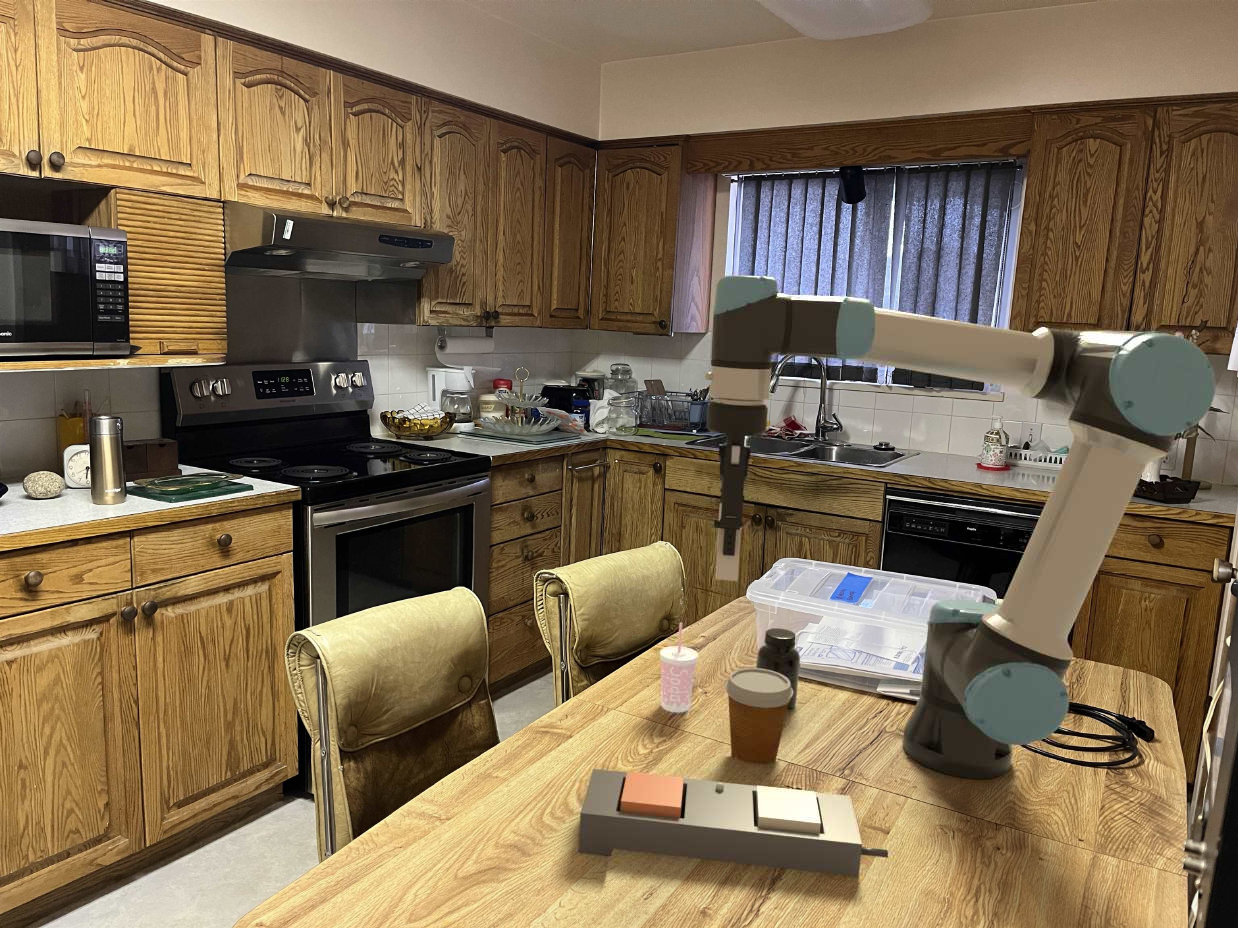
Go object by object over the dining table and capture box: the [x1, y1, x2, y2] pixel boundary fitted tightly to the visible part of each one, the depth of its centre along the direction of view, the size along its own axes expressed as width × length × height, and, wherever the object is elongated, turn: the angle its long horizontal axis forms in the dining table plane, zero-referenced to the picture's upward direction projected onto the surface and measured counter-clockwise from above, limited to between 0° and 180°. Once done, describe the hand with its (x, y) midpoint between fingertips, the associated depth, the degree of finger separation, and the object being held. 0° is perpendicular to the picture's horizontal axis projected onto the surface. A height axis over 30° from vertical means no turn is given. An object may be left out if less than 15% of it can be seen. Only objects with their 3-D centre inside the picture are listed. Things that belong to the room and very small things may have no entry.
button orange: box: [620, 771, 685, 818], centre depth 111 cm, size 7×7×5 cm
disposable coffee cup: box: [725, 667, 793, 765], centre depth 131 cm, size 10×10×12 cm
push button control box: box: [578, 768, 889, 878], centre depth 110 cm, size 36×10×6 cm, turn 83°
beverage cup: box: [659, 622, 699, 713], centre depth 146 cm, size 6×6×14 cm
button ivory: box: [754, 785, 821, 834], centre depth 109 cm, size 7×7×5 cm
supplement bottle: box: [755, 627, 801, 711], centre depth 150 cm, size 7×7×12 cm
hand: (726, 564), depth 119 cm, fingers open, 13 cm apart
